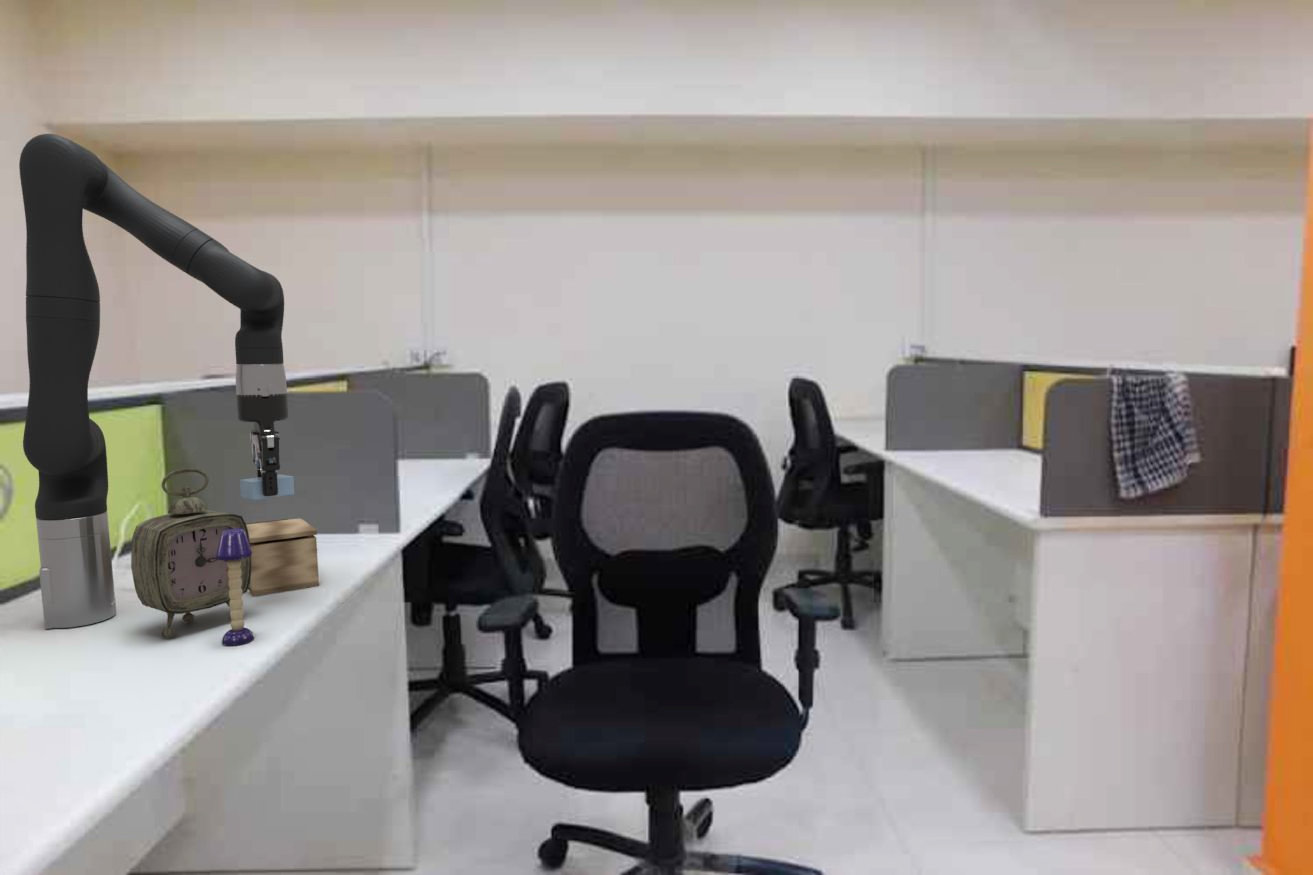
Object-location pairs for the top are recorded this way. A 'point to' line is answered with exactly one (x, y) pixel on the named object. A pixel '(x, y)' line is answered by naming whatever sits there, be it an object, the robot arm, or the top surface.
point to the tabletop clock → (184, 556)
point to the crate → (283, 565)
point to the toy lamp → (235, 582)
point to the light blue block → (254, 489)
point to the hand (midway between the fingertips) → (268, 492)
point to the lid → (279, 530)
